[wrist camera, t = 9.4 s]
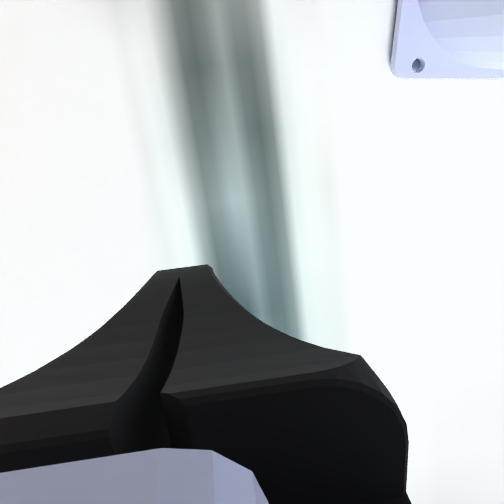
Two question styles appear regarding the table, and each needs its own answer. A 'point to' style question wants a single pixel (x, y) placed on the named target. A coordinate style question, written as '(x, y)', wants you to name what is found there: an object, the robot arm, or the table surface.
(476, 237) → the table surface
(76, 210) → the table surface
